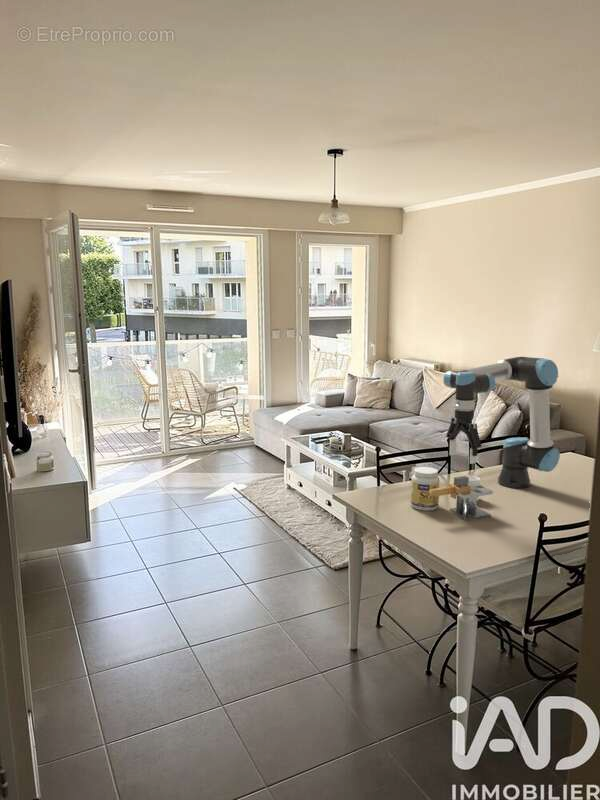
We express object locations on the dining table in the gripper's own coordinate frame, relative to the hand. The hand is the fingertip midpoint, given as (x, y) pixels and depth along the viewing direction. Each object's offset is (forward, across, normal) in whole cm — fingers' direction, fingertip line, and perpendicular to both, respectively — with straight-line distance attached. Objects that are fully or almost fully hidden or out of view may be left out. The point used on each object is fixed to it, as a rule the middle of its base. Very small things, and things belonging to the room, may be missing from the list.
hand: (462, 459), depth 248 cm
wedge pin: (+24, 0, -1) cm, 24 cm away
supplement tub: (+25, -15, -8) cm, 30 cm away
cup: (+26, -17, +16) cm, 34 cm away
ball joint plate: (+25, 0, +4) cm, 25 cm away
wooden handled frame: (+16, 0, -7) cm, 18 cm away
